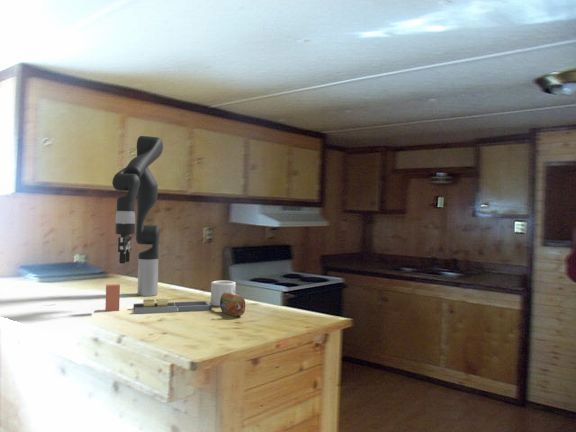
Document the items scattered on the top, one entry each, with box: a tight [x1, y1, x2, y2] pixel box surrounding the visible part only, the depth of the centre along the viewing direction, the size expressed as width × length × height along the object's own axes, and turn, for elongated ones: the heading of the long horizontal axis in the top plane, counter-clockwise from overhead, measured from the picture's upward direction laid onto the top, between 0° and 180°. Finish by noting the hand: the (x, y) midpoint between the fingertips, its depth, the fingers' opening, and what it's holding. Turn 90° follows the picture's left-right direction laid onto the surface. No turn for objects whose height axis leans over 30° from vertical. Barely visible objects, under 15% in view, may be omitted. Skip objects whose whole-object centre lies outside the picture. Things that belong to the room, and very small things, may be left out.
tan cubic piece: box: [142, 299, 156, 307], centre depth 193 cm, size 4×4×4 cm
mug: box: [210, 280, 237, 307], centre depth 216 cm, size 14×11×10 cm
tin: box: [219, 293, 246, 317], centre depth 195 cm, size 15×3×8 cm, turn 40°
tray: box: [174, 300, 213, 313], centre depth 199 cm, size 10×13×3 cm
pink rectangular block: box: [105, 283, 121, 312], centre depth 192 cm, size 4×5×11 cm
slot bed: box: [132, 301, 179, 315], centre depth 194 cm, size 10×16×3 cm, turn 112°
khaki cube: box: [155, 298, 169, 307], centre depth 195 cm, size 4×4×4 cm
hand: (124, 262), depth 197 cm, fingers open, 8 cm apart
